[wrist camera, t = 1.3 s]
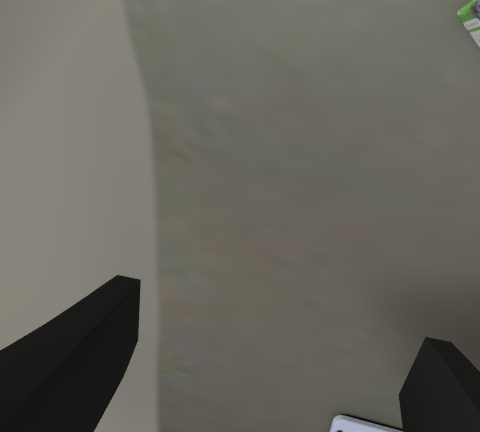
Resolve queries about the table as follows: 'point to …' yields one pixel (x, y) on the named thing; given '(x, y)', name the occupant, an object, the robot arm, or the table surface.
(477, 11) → the syrup box
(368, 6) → the table surface
